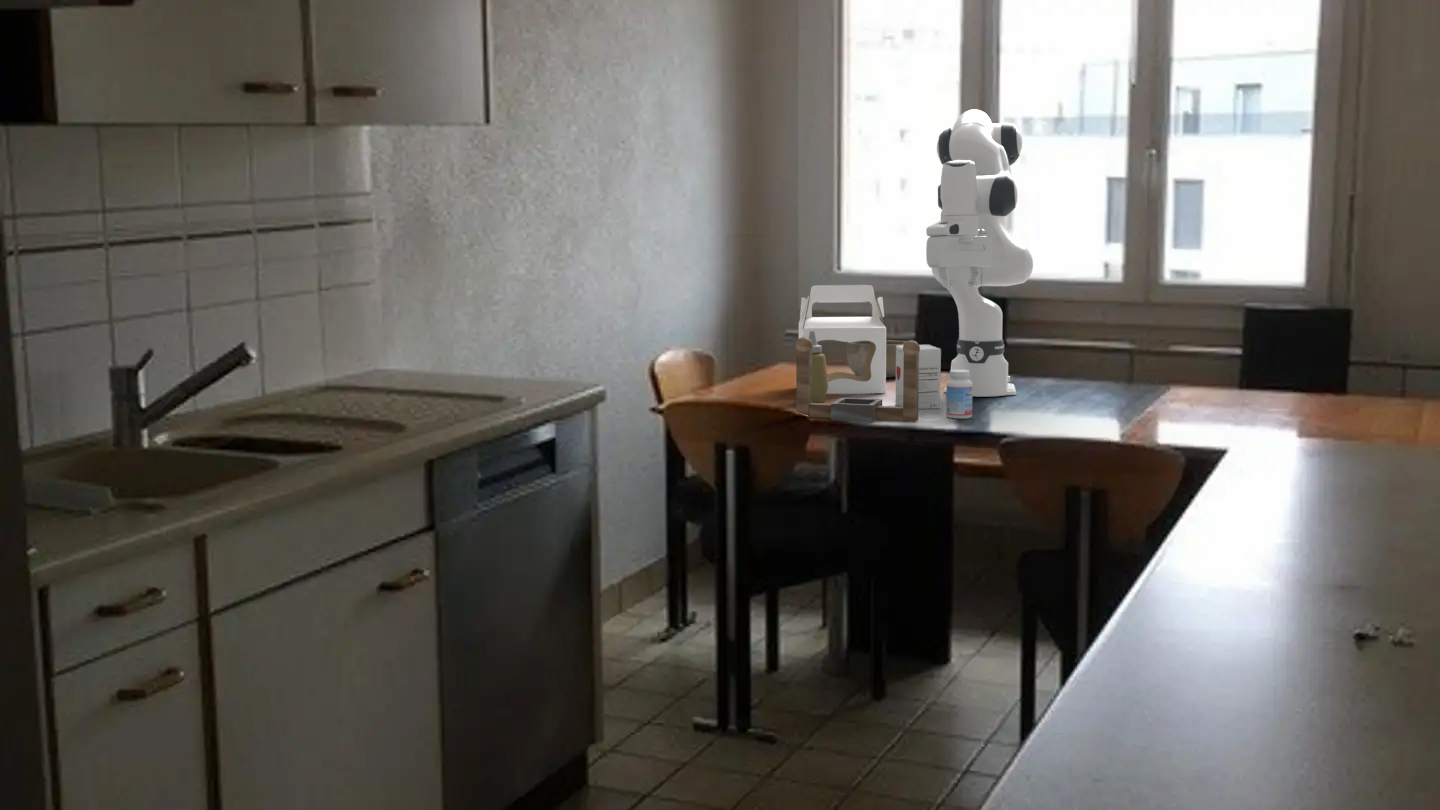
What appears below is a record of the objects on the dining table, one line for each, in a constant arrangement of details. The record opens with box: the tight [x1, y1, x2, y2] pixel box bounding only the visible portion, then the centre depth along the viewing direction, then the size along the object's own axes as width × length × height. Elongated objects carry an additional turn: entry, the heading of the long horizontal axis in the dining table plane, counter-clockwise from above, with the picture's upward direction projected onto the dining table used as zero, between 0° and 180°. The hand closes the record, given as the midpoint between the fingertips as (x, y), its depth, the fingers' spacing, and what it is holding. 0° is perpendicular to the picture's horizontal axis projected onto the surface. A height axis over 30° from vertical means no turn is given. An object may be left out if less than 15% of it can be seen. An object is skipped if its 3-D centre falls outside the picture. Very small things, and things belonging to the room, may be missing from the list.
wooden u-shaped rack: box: [795, 337, 920, 423], centre depth 403 cm, size 10×30×19 cm, turn 72°
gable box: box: [798, 284, 887, 395], centre depth 448 cm, size 22×13×28 cm, turn 92°
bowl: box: [846, 339, 907, 378], centre depth 476 cm, size 17×18×10 cm
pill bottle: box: [945, 369, 973, 420], centre depth 404 cm, size 6×6×11 cm
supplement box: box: [895, 344, 942, 410], centre depth 420 cm, size 9×9×15 cm
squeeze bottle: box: [809, 331, 828, 403], centre depth 429 cm, size 8×8×18 cm
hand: (960, 287), depth 404 cm, fingers open, 8 cm apart
